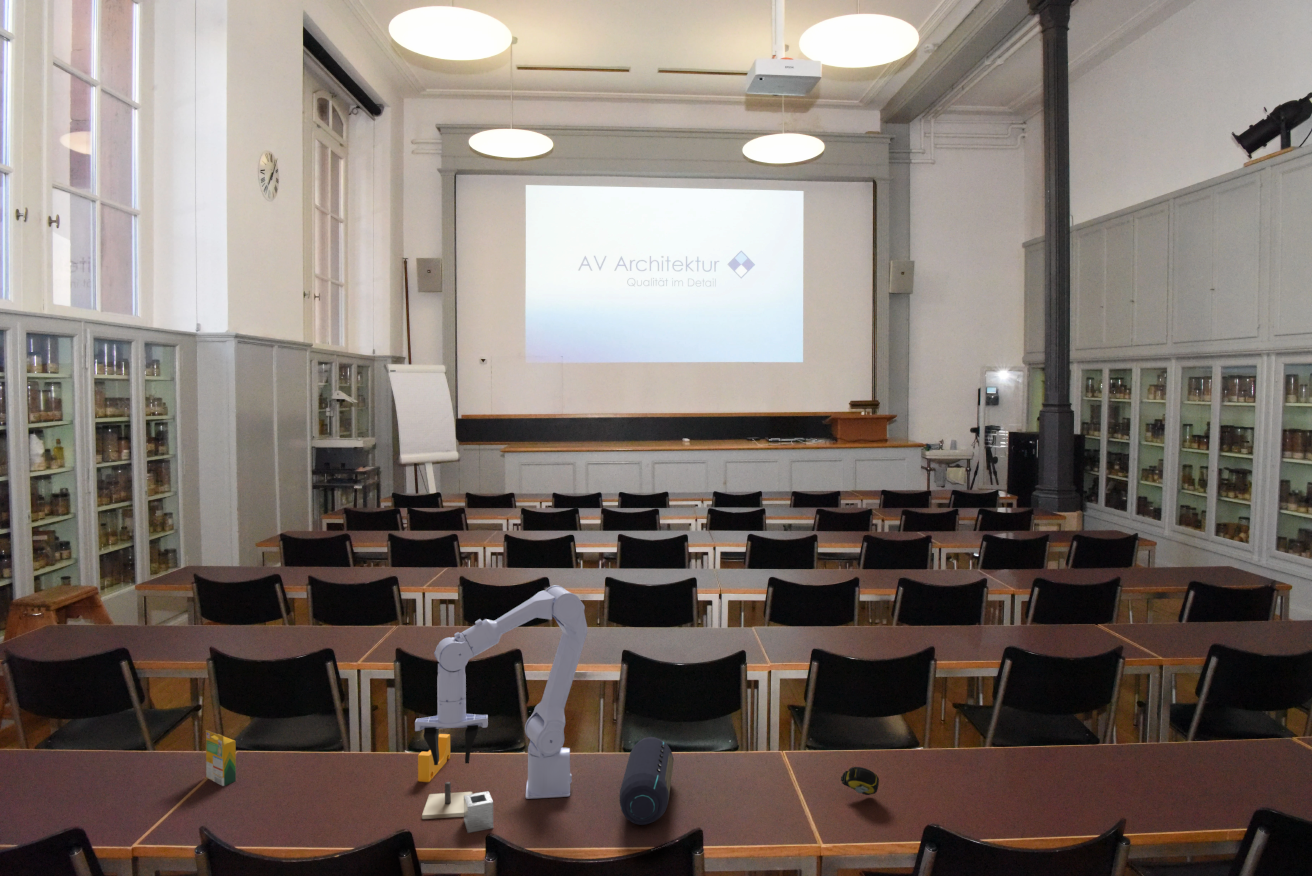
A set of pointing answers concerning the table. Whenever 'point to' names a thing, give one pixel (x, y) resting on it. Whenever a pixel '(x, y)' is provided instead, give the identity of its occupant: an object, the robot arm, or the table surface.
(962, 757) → the table surface
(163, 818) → the table surface
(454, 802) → the cream tile with peg
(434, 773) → the pipe clamp
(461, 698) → the robot arm
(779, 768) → the table surface
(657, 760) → the portable speaker
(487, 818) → the grey hollow cube
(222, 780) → the crayon box
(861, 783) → the tape measure
